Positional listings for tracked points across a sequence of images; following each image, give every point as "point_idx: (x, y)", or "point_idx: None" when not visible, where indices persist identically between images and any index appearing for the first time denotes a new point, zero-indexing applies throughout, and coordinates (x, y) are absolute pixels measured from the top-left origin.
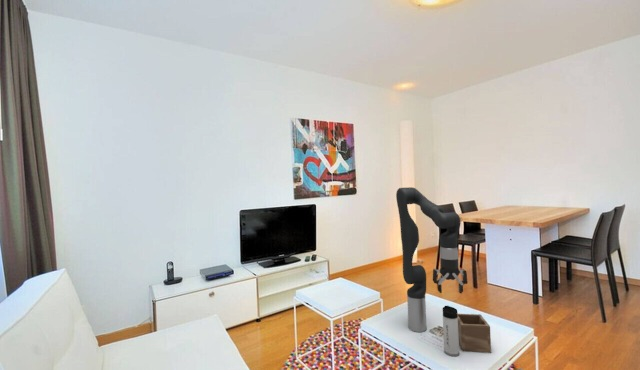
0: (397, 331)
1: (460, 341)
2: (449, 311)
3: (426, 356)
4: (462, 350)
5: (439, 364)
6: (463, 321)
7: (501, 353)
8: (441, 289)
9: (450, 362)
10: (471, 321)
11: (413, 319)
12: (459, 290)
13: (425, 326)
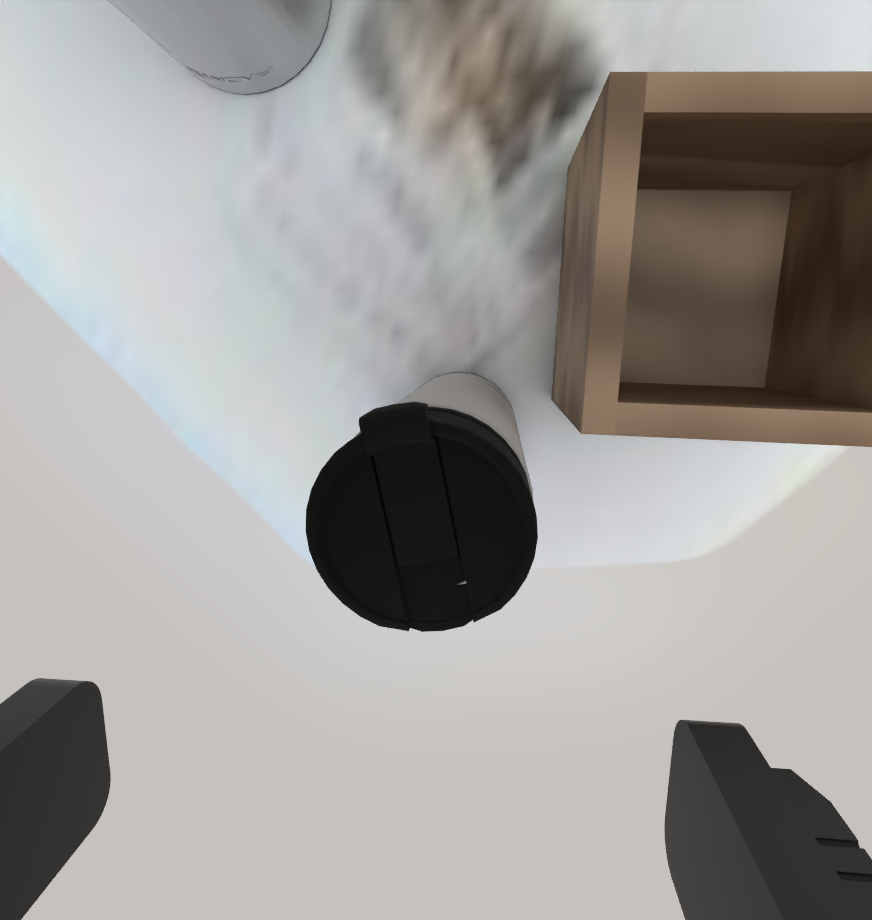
0: (56, 98)
1: (560, 351)
2: (406, 559)
3: (263, 489)
4: (552, 400)
5: None
6: (691, 143)
7: None
8: (25, 910)
9: None
10: (794, 143)
11: (138, 24)
12: (694, 846)
13: (302, 33)
